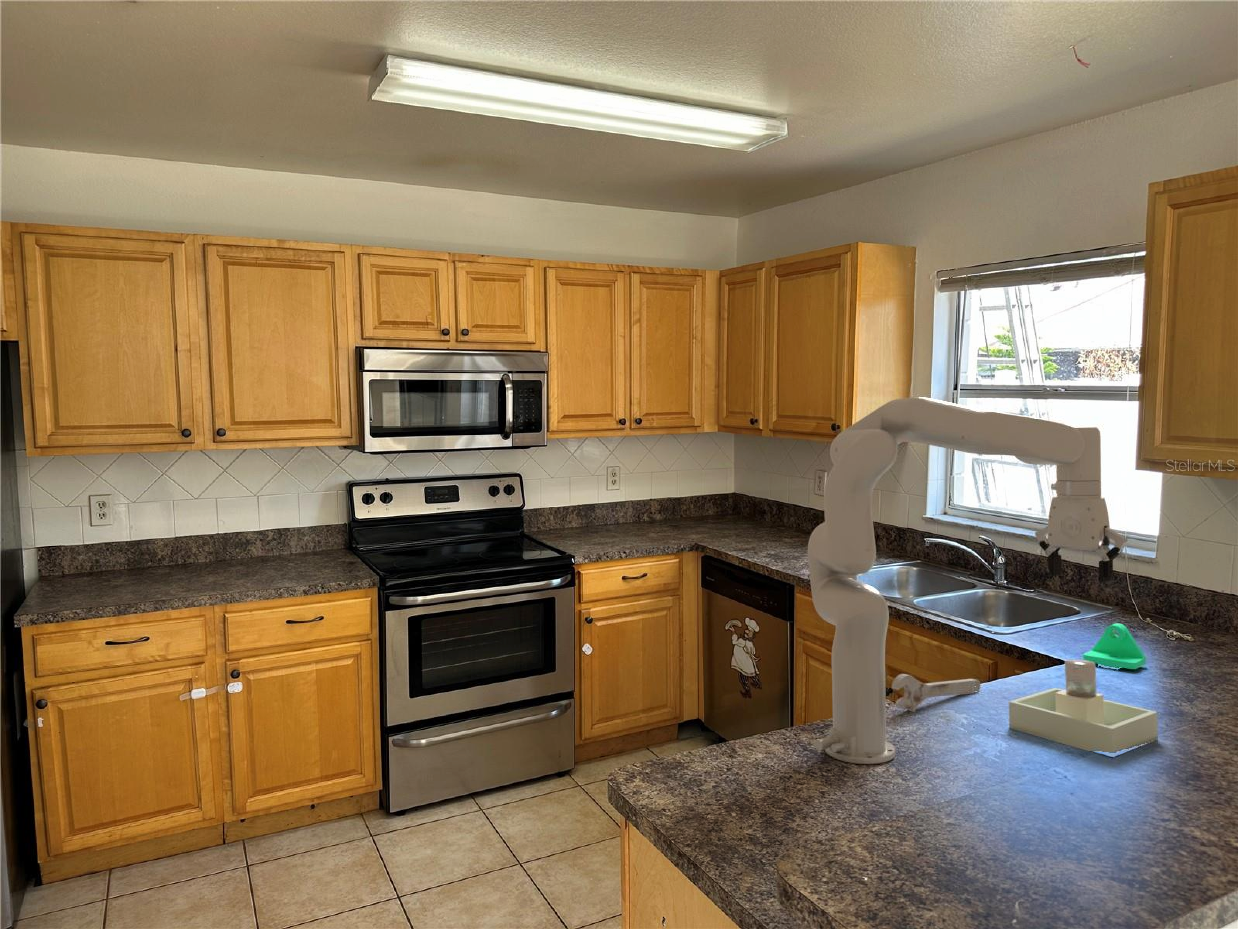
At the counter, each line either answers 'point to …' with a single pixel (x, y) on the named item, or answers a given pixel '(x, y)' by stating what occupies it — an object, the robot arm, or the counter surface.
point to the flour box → (1080, 706)
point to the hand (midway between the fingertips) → (1079, 578)
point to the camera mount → (1116, 649)
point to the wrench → (929, 690)
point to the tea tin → (1080, 678)
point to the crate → (1084, 724)
